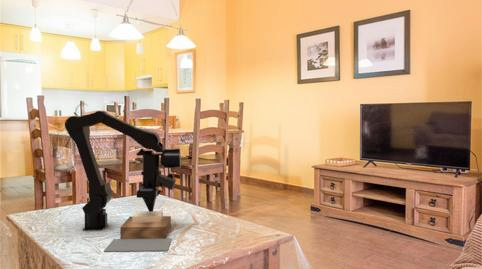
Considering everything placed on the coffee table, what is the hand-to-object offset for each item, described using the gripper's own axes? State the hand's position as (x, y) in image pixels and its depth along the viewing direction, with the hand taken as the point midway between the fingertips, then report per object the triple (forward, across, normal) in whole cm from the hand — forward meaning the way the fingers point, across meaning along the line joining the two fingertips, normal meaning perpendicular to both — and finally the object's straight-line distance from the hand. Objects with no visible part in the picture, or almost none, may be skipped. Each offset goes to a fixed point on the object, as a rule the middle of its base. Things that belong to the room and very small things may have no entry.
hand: (151, 212), depth 127 cm
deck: (+5, -8, 0) cm, 9 cm away
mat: (+5, -18, 0) cm, 19 cm away
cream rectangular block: (+1, -6, 0) cm, 6 cm away
